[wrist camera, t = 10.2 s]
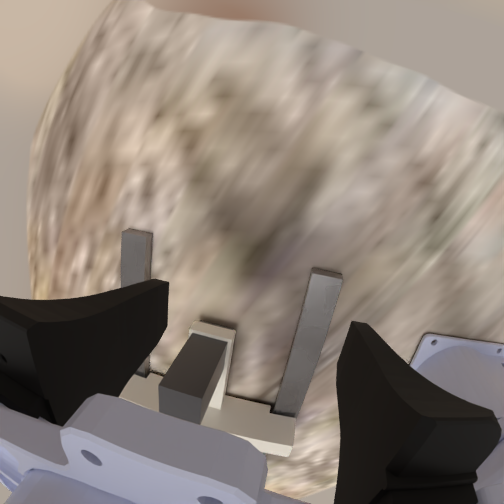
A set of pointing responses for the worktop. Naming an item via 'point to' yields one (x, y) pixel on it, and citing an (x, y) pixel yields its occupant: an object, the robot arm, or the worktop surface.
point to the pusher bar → (211, 392)
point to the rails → (307, 333)
